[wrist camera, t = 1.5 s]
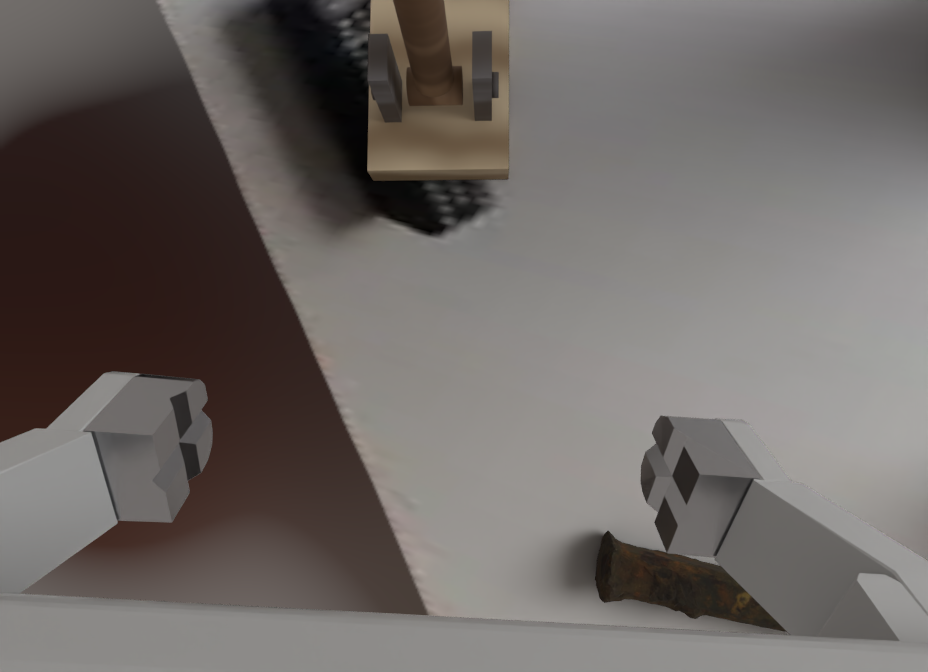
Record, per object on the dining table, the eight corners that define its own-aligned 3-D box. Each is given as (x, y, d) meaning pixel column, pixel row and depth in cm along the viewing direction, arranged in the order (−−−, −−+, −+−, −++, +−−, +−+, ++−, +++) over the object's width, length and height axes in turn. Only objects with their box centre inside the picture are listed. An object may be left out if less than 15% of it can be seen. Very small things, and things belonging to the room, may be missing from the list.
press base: (508, 179, 40) (511, 134, 33) (373, 180, 41) (346, 136, 33) (508, -27, 41) (511, -116, 34) (377, -23, 42) (352, -110, 34)
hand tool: (586, 582, 38) (600, 611, 33) (599, 525, 38) (614, 546, 34) (863, 656, 37) (916, 696, 32) (874, 596, 37) (929, 628, 32)
